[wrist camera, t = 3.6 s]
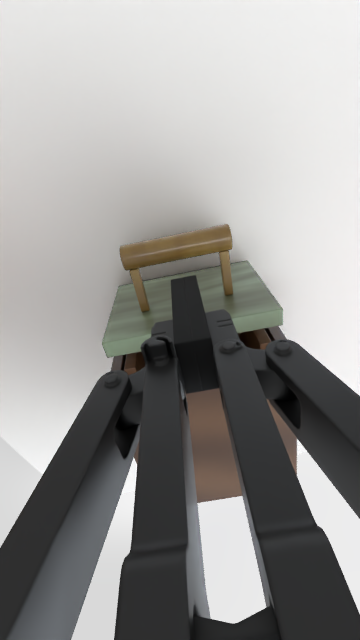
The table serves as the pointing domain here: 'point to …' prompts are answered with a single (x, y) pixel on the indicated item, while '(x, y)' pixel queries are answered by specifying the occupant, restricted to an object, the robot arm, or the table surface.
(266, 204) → the table surface
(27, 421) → the table surface
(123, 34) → the table surface
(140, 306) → the drawer
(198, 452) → the cabinet
